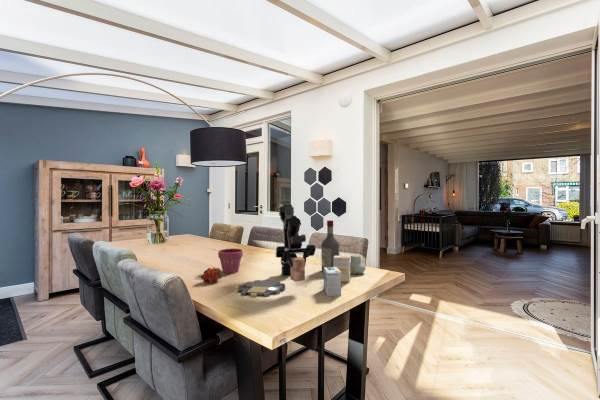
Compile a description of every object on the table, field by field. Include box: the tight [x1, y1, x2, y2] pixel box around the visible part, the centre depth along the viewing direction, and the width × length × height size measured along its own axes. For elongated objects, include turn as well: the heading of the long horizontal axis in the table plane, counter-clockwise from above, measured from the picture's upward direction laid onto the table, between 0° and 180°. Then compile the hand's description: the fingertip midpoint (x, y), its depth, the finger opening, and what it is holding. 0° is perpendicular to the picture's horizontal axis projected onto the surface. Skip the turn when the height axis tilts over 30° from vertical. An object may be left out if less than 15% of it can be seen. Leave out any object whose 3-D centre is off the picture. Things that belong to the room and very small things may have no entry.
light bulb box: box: [323, 267, 342, 297], centre depth 145 cm, size 11×7×11 cm, turn 5°
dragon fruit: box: [200, 266, 223, 284], centre depth 164 cm, size 8×8×12 cm
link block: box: [290, 256, 306, 283], centre depth 144 cm, size 5×5×10 cm
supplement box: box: [333, 255, 351, 283], centre depth 163 cm, size 8×5×13 cm, turn 71°
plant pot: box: [217, 248, 244, 275], centre depth 185 cm, size 14×14×13 cm
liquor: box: [321, 219, 340, 273], centre depth 183 cm, size 9×9×30 cm
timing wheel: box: [237, 279, 286, 298], centre depth 151 cm, size 23×23×1 cm
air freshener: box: [350, 254, 367, 275], centre depth 179 cm, size 11×8×10 cm
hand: (298, 266), depth 143 cm, fingers closed on link block, 6 cm apart
